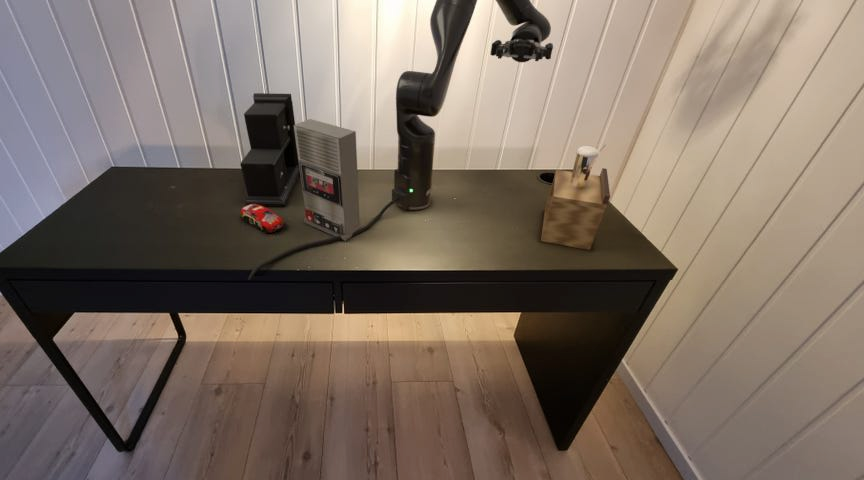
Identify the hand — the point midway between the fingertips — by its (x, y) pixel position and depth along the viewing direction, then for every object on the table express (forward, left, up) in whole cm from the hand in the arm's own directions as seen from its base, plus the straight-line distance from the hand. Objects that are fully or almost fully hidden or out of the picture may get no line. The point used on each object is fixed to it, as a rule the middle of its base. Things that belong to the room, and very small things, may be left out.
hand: (518, 55), depth 95 cm
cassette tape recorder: (-48, +6, -36) cm, 60 cm away
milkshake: (+3, -23, -24) cm, 34 cm away
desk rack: (+3, -23, -36) cm, 43 cm away
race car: (-62, +17, -36) cm, 74 cm away
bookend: (-53, +35, -36) cm, 73 cm away
